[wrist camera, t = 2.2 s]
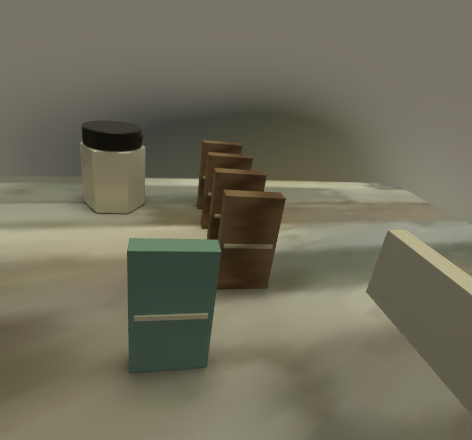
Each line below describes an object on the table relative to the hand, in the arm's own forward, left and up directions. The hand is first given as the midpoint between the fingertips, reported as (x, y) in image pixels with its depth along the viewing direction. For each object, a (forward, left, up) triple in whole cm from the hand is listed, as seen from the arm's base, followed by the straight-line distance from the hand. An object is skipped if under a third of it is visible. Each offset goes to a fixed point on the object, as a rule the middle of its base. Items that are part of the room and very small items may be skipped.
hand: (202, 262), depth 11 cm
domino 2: (+8, +34, -16) cm, 39 cm away
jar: (-8, +41, -17) cm, 45 cm away
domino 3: (+8, +27, -16) cm, 33 cm away
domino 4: (+8, +20, -16) cm, 27 cm away
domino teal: (0, +10, -16) cm, 19 cm away
